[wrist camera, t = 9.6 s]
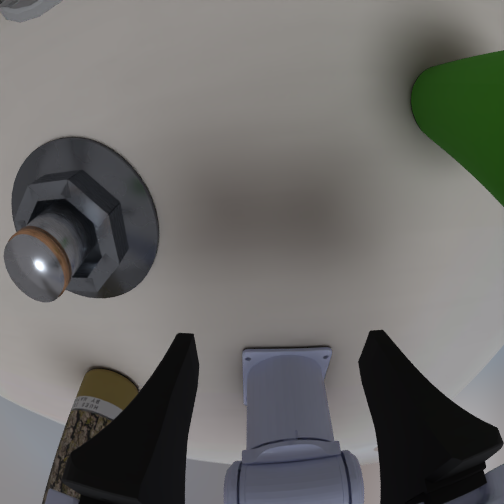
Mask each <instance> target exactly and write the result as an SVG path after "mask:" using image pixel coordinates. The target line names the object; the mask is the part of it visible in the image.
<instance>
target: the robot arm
mask: <svg viewBox="0 0 504 504" xmlns="http://www.w3.org/2000/svg"><path fill="white" fill-rule="evenodd" d="M325 355H326V356H325ZM331 355H332V350H331V348H329V347H320V348H294V349H246V350H244V351H243V352H242V360H243V397H244V405H246V406H247V448H246V450H243V451H242V461H235V462H233V464H232V465H231V466H230V467H229V468H228V469H227V472H226V475H225V481H224V504H364V484H363V478H362V472H361V468H360V464H359V462H358V459H357V458H356V456H355V455H353V454H352V453H351V452H350V451H348V450H343V451H341V450H340V444H339V441H334V436H333V430H332V424H331V418H330V413H329V407H328V401H327V396H326V391H325V385H324V378H325V375H326V372H327V368H328V365H329V362H330V358H331ZM247 357H249V358H247ZM358 363H359V369H360V375H361V381H362V385H363V389H364V392H365V395H366V399H367V402H368V406H369V409H370V412H371V416H372V419H373V423H374V427H375V432H376V438H377V445H378V453H379V463H380V480H381V501H380V504H504V464H502V465H500V466H499V467H497V468H495V469H493V470H491V471H489V472H488V473H486V474H484V471H483V470H484V469H485V468H486V464H485V461H486V460H487V459H488V458H490V457H491V456H492V455H493V454H495V453H496V452H497V451H498V450H500V449H501V448H502V446H503V441H502V438H501V436H500V433H499V430H498V428H497V427H495V426H493V425H491V424H488V423H486V422H484V421H482V420H480V419H479V418H477V417H475V416H473V415H472V414H470V413H469V412H467V411H465V410H464V409H462V408H461V407H460V406H458V405H457V404H455V403H454V402H453V401H451V400H450V399H449V398H447V397H446V396H445V395H444V394H443V393H442V392H440V391H439V390H438V389H437V388H436V387H435V386H434V385H432V384H431V383H430V382H429V381H428V380H427V379H426V378H425V377H424V376H423V375H422V374H421V373H420V372H419V371H418V369H417V368H416V367H415V366H414V365H413V364H412V363H411V362H410V361H409V360H408V359H407V357H406V356H405V355H404V354H403V353H402V352H401V350H400V349H399V348H398V347H397V346H396V345H395V343H394V342H393V341H392V340H391V339H390V337H389V336H388V335H387V334H386V333H385V332H384V331H383V330H374V331H370V332H369V335H368V337H367V340H366V343H365V346H364V348H363V351H362V354H361V356H360V359H359V361H358ZM198 376H199V361H198V355H197V350H196V344H195V339H194V334H190V333H178V334H177V335H176V337H175V339H174V341H173V342H172V344H171V346H170V348H169V349H168V351H167V353H166V354H165V356H164V358H163V359H162V361H161V362H160V364H159V365H158V367H157V368H156V370H155V371H154V373H153V374H152V376H151V377H150V378H149V380H148V381H147V382H146V384H145V385H144V386H143V388H142V389H141V390H140V392H139V393H138V394H137V395H136V396H135V398H134V399H133V400H132V401H131V402H130V403H129V404H128V406H127V407H126V408H125V409H124V410H123V411H122V412H121V413H120V414H119V415H118V416H117V417H116V418H115V419H114V420H113V421H112V422H110V423H109V424H108V425H107V426H106V427H105V428H103V429H102V430H101V431H100V432H99V433H97V434H96V435H95V436H94V437H92V438H91V439H90V440H88V441H87V442H85V443H84V444H82V445H81V446H79V447H78V448H77V449H75V450H74V451H72V452H71V453H70V455H69V457H68V459H67V462H66V465H65V468H64V472H63V476H62V479H61V480H62V482H63V483H64V484H65V485H66V486H68V487H69V488H71V489H72V490H74V491H76V492H77V493H79V494H81V496H80V500H78V499H76V498H74V497H71V496H69V495H66V494H63V493H61V492H58V491H56V490H53V489H51V488H50V489H49V490H48V494H47V497H46V501H45V504H185V470H186V453H187V440H188V433H189V428H190V422H191V417H192V412H193V407H194V402H195V397H196V392H197V387H198Z"/></svg>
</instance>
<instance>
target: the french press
mask: <svg viewBox="0 0 504 504" xmlns="http://www.w3.org/2000/svg"><path fill="white" fill-rule="evenodd" d="M61 1H62V0H0V12H1V13H2V14H3V16H4V17H5V18H6V19H7V20H12V21H16V22H23V21H26V20H29V19H33V18H36V17H39V16H41V15H42V14H44V13H45V12H46V11H48V10H49V9H51V8H52V7H54V6H55V5H57V4H58V3H60V2H61Z"/></svg>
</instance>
